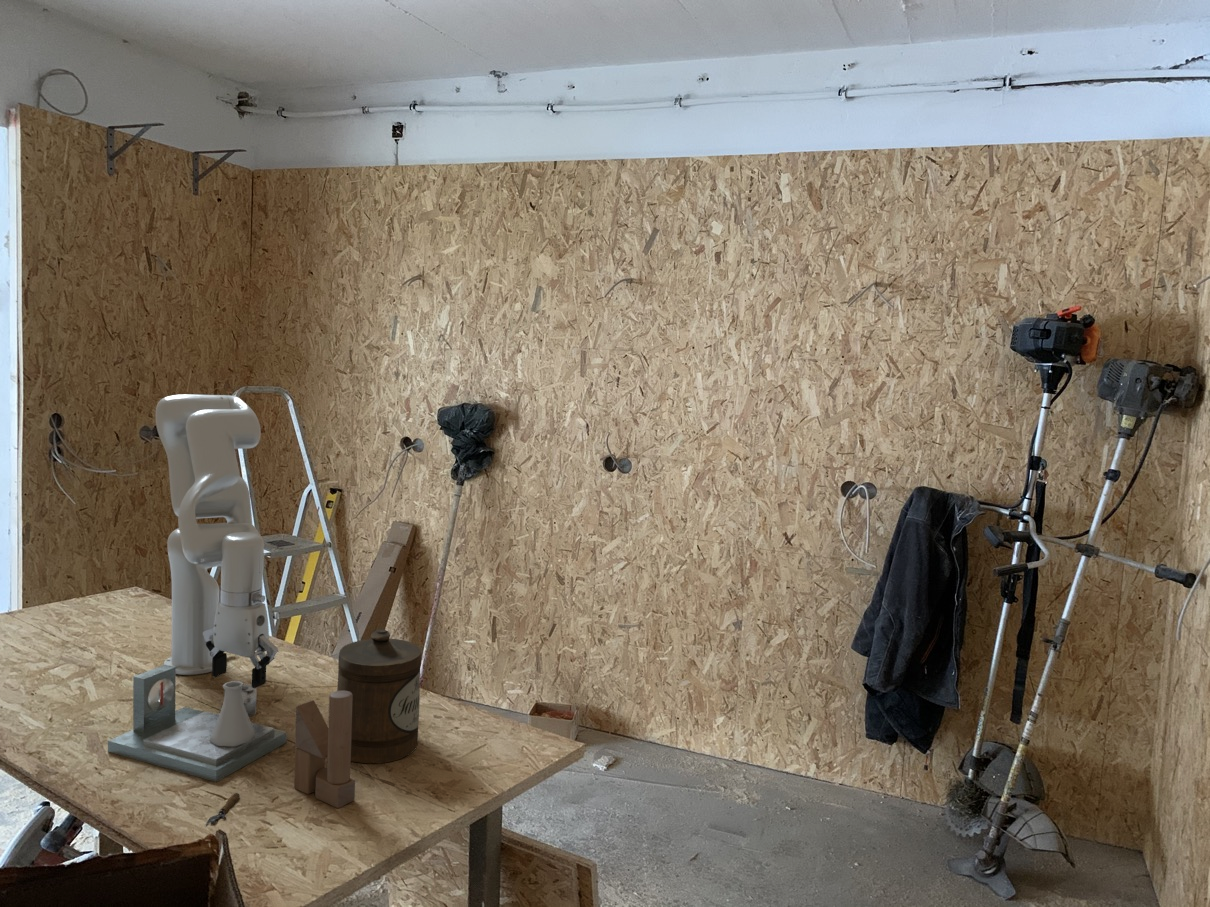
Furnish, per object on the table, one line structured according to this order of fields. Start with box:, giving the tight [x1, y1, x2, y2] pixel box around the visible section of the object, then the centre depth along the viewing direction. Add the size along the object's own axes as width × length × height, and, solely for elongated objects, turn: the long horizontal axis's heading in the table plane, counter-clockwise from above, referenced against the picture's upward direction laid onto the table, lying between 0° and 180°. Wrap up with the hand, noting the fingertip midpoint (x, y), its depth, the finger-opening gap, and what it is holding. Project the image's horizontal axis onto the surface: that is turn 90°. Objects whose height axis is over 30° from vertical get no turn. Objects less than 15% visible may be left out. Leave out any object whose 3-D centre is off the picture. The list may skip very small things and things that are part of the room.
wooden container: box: [336, 628, 422, 764], centre depth 163 cm, size 15×15×22 cm
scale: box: [107, 665, 288, 783], centre depth 159 cm, size 17×24×12 cm
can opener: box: [205, 792, 240, 827], centre depth 138 cm, size 9×2×1 cm, turn 172°
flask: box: [209, 680, 256, 747], centre depth 156 cm, size 7×7×10 cm
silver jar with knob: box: [242, 683, 258, 718], centre depth 175 cm, size 5×5×5 cm
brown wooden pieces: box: [293, 690, 356, 809], centre depth 144 cm, size 4×11×18 cm, turn 57°
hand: (238, 680), depth 175 cm, fingers open, 9 cm apart
